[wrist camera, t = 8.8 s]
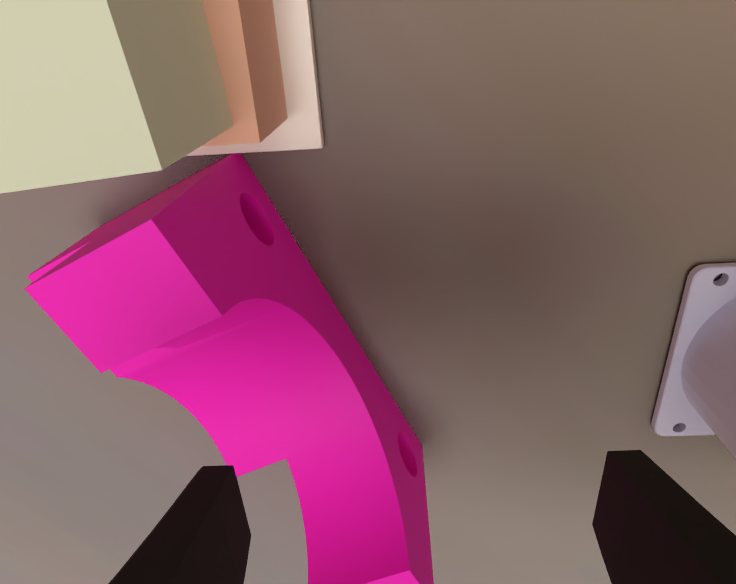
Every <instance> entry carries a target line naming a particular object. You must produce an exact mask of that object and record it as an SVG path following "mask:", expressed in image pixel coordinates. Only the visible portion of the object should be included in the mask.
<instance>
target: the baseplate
mask: <svg viewBox="0 0 736 584" xmlns="http://www.w3.org/2000/svg"><path fill="white" fill-rule="evenodd" d="M273 7H274V15H275V23H276V31H277V38H278V46H279V54H280V62H281V69H282V77H283V85H284V93H285V100H286V108H287V116H288V119H286V120H285V121H284V122H283V123H282V124H281V125H280V126H279V127H277V128H276V129H275V130H274V131H273V132H272V133H271V134H270V135H269V136H267V137H266V138H265V139H264V140H263V141H262V142H261V143H251V144H234V145H217V146H200V147H199V148H197V149H196V150H194V151H192V152H191V153H189V154H188V155H186V156H197V155H215V154H232V153H249V152H267V151H284V150H302V149H319V148H323V146H324V139H323V129H322V119H321V109H320V99H319V89H318V79H317V69H316V59H315V49H314V39H313V29H312V19H311V9H310V0H273Z"/></svg>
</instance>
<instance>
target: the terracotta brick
mask: <svg viewBox="0 0 736 584" xmlns="http://www.w3.org/2000/svg"><path fill="white" fill-rule="evenodd" d="M202 2H203V6H204V10H205V14H206V18H207V22H208V26H209V30H210V34H211V38H212V42H213V46H214V50H215V54H216V58H217V61H218V65H219V69H220V73H221V77H222V81H223V85H224V89H225V93H226V97H227V101H228V105H229V109H230V113H231V116H232V120H233V124H234V126H232V127H231V128H229V129H228V130H226V131H224V132H223V133H221V134H220V135H218V136H216V137H215V138H213V139H212V140H210V141H208V142H207V143H205V144H204V145H202V146H217V145H234V144H251V143H261V142H262V141H263V140H264V139H265V138H266V137H267V136H269V135H270V134H271V133H272V132H273V131H274V130H275V129H276V128H277V127H279V126H280V125H281V124H282V123H283V122H284V121H285V120H286V119H288V116H287V108H286V100H285V93H284V85H283V77H282V69H281V62H280V54H279V46H278V38H277V31H276V23H275V15H274V7H273V0H202Z"/></svg>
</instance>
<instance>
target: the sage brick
mask: <svg viewBox="0 0 736 584" xmlns="http://www.w3.org/2000/svg"><path fill="white" fill-rule="evenodd" d="M232 126H234V124H233V120H232V116H231V113H230V109H229V105H228V101H227V97H226V93H225V89H224V85H223V81H222V77H221V73H220V69H219V65H218V61H217V58H216V54H215V50H214V46H213V42H212V38H211V34H210V30H209V26H208V22H207V18H206V14H205V10H204V6H203V2H202V0H0V193H7V192H14V191H21V190H28V189H35V188H42V187H49V186H56V185H63V184H70V183H77V182H84V181H91V180H98V179H105V178H112V177H119V176H126V175H133V174H140V173H147V172H154V171H161V170H164V169H165V168H167V167H168V166H170V165H172V164H173V163H175V162H176V161H178V160H180V159H181V158H183V157H184V156H186V155H188V154H189V153H191V152H192V151H194V150H196V149H197V148H199V147H200V146H202V145H204V144H205V143H207V142H208V141H210V140H212V139H213V138H215V137H216V136H218V135H220V134H221V133H223V132H224V131H226V130H228V129H229V128H231V127H232Z"/></svg>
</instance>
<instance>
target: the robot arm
mask: <svg viewBox="0 0 736 584" xmlns="http://www.w3.org/2000/svg"><path fill="white" fill-rule="evenodd" d="M721 273H722V276H721V278H720V279H718V280H717V281H714V282H713V280H714V278H715V277H716V276H717V275H718V274H721ZM678 423H680V424H678ZM676 424H678V425H676ZM674 425H676V426H674ZM651 426H652V428H653V429H654V431H655V432H656V434H658V435H660V436H692V435H716V436H717V437H718V438H719V439H720V441H721V442H722V443H723V444H724V446H725V447H726V448H727V449H728V451H729V452H730V453H731V454H732V455H733V457H734V458H735V459H736V263H714V264H702V265H698V266H696V267H695V268H693V269H692V270H691V271H690V273H689V275H688V277H687V281H686V285H685V289H684V293H683V297H682V301H681V305H680V309H679V313H678V317H677V321H676V325H675V329H674V333H673V337H672V341H671V345H670V350H669V354H668V358H667V362H666V366H665V370H664V374H663V378H662V382H661V386H660V390H659V394H658V398H657V402H656V406H655V410H654V414H653V418H652V422H651ZM592 525H593V528H594V531H595V534H596V538H597V541H598V544H599V547H600V550H601V553H602V557H603V559H604V562H605V565H606V568H607V571H608V574H609V577H610V580H611V582H612V584H736V535H734V534H733V533H732V532H731V531H730V530H729V529H728V528H726V527H725V526H724V525H723V524H722V523H721V522H720V521H718V520H717V519H716V518H715V517H714V516H713V515H712V514H711V513H709V512H708V511H707V510H706V509H705V508H704V507H703V506H702V505H701V504H699V503H698V502H697V501H696V500H695V499H694V498H693V497H692V496H691V495H689V494H688V493H687V492H686V491H685V490H684V489H683V488H682V487H681V486H680V485H678V484H677V483H676V482H675V481H674V480H673V479H672V478H671V477H670V476H669V475H667V474H666V473H665V472H664V471H663V470H662V469H661V468H660V467H659V466H658V465H656V464H655V463H654V462H653V461H652V460H651V459H650V458H649V457H648V456H646V455H645V454H644V453H643V452H642V451H641V450H628V451H608V452H607V456H606V461H605V466H604V471H603V476H602V480H601V485H600V490H599V495H598V500H597V505H596V509H595V514H594V519H593V524H592ZM250 539H251V533H250V529H249V525H248V521H247V517H246V513H245V509H244V505H243V501H242V497H241V493H240V489H239V486H238V482H237V478H236V474H235V470H234V466H233V465H227V466H203V467H202V468H201V469H200V470H199V471H198V472H197V473H196V475H195V476H194V477H193V479H192V480H191V481H190V482H189V484H188V485H187V486H186V488H185V489H184V490H183V492H182V493H181V494H180V496H179V497H178V498H177V499H176V501H175V502H174V503H173V505H172V506H171V507H170V509H169V510H168V511H167V512H166V514H165V515H164V516H163V518H162V519H161V520H160V521H159V523H158V524H157V525H156V527H155V528H154V529H153V530H152V532H151V533H150V534H149V535H148V537H147V538H146V539H145V540H144V541H143V543H142V544H141V545H140V546H139V548H138V549H137V550H136V551H135V552H134V554H133V555H132V556H131V557H130V559H129V560H128V561H127V562H126V564H125V565H124V566H123V567H122V568H121V570H120V571H119V572H118V573H117V574H116V576H115V577H114V578H113V579H112V580H111V581H110V583H109V584H243V583H244V577H245V572H246V566H247V559H248V552H249V546H250Z"/></svg>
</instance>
